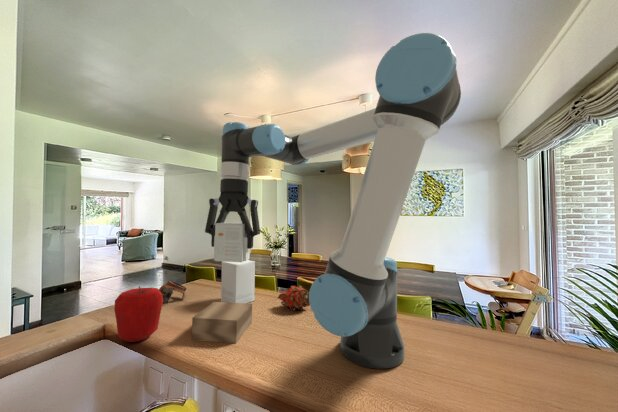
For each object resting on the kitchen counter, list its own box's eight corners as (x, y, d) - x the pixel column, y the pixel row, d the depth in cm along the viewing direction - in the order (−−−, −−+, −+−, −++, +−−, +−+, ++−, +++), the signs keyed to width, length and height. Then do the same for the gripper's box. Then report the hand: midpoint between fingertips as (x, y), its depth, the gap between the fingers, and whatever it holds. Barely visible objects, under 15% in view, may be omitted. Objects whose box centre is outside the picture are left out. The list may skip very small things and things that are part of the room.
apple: (118, 353, 59) (120, 294, 60) (109, 338, 66) (111, 285, 67) (167, 337, 67) (169, 285, 68) (154, 325, 74) (156, 278, 74)
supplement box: (255, 301, 96) (256, 260, 96) (235, 307, 89) (236, 264, 89) (240, 295, 101) (241, 258, 102) (220, 301, 94) (221, 261, 95)
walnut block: (251, 323, 77) (252, 303, 77) (236, 344, 65) (236, 320, 65) (213, 321, 78) (214, 301, 78) (191, 341, 66) (192, 317, 66)
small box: (248, 259, 75) (250, 223, 75) (241, 262, 69) (243, 224, 69) (222, 257, 76) (224, 222, 76) (213, 261, 70) (215, 222, 70)
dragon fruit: (313, 316, 86) (280, 317, 89) (315, 295, 93) (284, 296, 96) (306, 300, 82) (272, 302, 85) (310, 279, 89) (277, 281, 92)
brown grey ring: (156, 299, 97) (168, 279, 100) (179, 309, 98) (191, 289, 101) (145, 301, 86) (160, 278, 89) (172, 313, 87) (185, 290, 90)
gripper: (273, 181, 75) (271, 258, 75) (206, 180, 78) (204, 255, 77) (266, 178, 68) (263, 264, 67) (192, 176, 70) (189, 259, 70)
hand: (231, 259), depth 72 cm, fingers closed on small box, 8 cm apart
